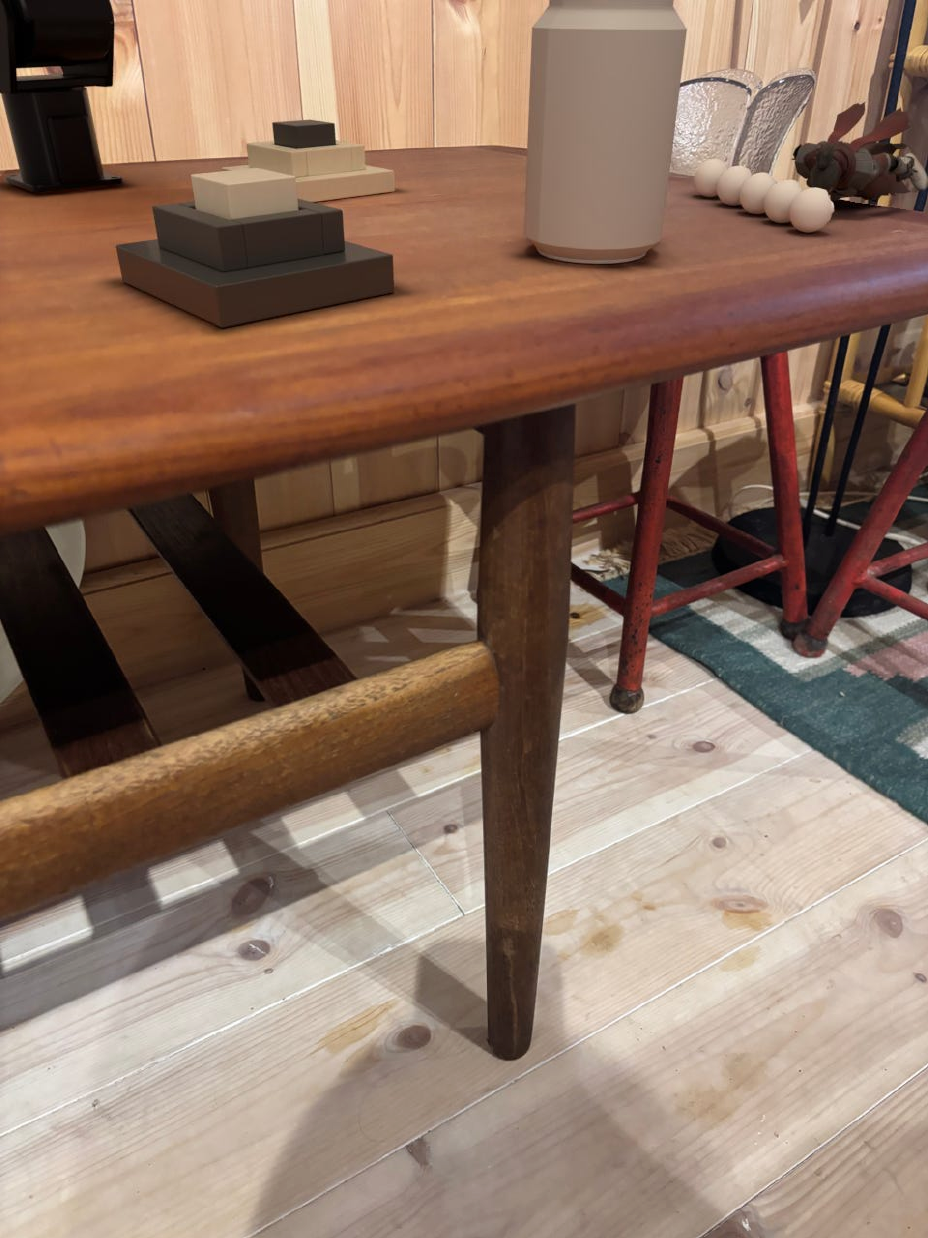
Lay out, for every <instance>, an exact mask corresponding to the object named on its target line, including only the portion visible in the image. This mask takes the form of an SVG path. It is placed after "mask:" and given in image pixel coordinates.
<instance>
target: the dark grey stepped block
mask: <svg viewBox="0 0 928 1238" xmlns="http://www.w3.org/2000/svg"><path fill="white" fill-rule="evenodd" d="M297 200H298V210H296V211H289V212H281V213H274V214H267V215H259V216H252V217H245V218H237V219H231V220H228V219H225V218H222V217H218V216H215V215H212V214H209V213H205V212H202V211H199V210H196V206H195V200H191V201H182V202H177V203H175V202H173V203H167V204H165V203H163V204H156V205H151V209H152V215H153V222H154V227H155V234H156V239H148V240H147V239H146V240H142V241H135V242H127V243H120V244H119V243H118V244H115V251H116V255H117V261H118V265H119V270H120V275H121V280H122V282H123V283H124V284H127V285H129V286H132V287H134V288H136V289H137V290H140V291H142V292H144V293H146V294H148V295H151V296H153V297H155V298H157V299H159V300H161V301H164V302H165V303H168V304H170V305H172V306H174V307H176V308H179V309H181V310H183V311H185V312H187V313H189V314H191V315H194V316H196V317H197V318H200V319H201V320H205V321H206V322H209V323H211V324H213V325H215V326H217V327H219V328H222V329H223V328H228V327H233V326H237V325H243V324H248V323H253V322H258V321H262V320H266V319H271V318H275V317H276V318H277V317H281V316H287V315H291V314H296V313H300V312H305V311H311V310H315V309H320V308H326V307H330V306H334V305H335V306H336V305H338V304H344V303H349V302H354V301H358V300H363V299H368V298H372V297H377V296H382V295H388V294H392V293H394V292H395V275H394V274H395V272H394V255H393V254H391V253H389V252H384V251H382V250H378V249H374V248H371V247H367V246H365V245H364V246H363V245H361V244H357V243H353V242H351V241H347V240H346V239H345V223H344V211H343V209H340V208H336V207H332V206H328V205H325V204H321V203H317V202H309V201H305V200H301V199H297Z"/></svg>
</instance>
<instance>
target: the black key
mask: <svg viewBox="0 0 928 1238" xmlns="http://www.w3.org/2000/svg"><path fill="white" fill-rule="evenodd" d="M271 125H272V134H273V135H272V136H273V141H274V145H278V146H283V147H289V148H294V149H300V148H311V147H322V146H332V145H336V138H337V137H336V124H335V122H329V121H322V120H316V119H299V120H298V119H297V120H287V121H286V120H283V121H273V122H272V123H271Z"/></svg>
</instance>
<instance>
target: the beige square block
mask: <svg viewBox="0 0 928 1238" xmlns="http://www.w3.org/2000/svg"><path fill="white" fill-rule="evenodd" d="M190 178H191V184H192V185H191V186H192V191H193V199H194V201H195V206H196V210H199V211H202V212H205V213H209V214H212V215H215V216H218V217H222V218H225V219H228V220H231V219H237V218H245V217H252V216H259V215H267V214H274V213H281V212H289V211H296V210H298V200H297V189H296V178H295V176H291V175H286V174H282V173H277V172H273V171H269V170H264V169H260V168H250V169H240V170H231V171H222V170H221V171H213V172H202V173H195V174H194V173H193V174H191V175H190Z"/></svg>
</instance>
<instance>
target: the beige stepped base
mask: <svg viewBox="0 0 928 1238" xmlns="http://www.w3.org/2000/svg"><path fill="white" fill-rule="evenodd" d="M365 147H366V146H365V144H361V143H355V142H348V141H342V140H338V139H337V140H336V145H332V146H322V147H311V148H300V149H294V148H289V147H283V146H278V145H274V140H270V141H269V140H267V141H257V142H255V141H254V142H247V143H246V152H247V153H246V154H247V162H248V164H244V165H243V164H242V165H234V166H233V165H231V166H223V167H221V169H220V170H221V171H231V170H240V169H250V168H260V169H264V170H269V171H273V172H277V173H282V174H286V175H291V176H295V178H296V189H297V199H301V200H305V201H309V202H313V203H317V202H318V203H319V202H325V201H332V200H340V199H347V198H348V199H349V198H355V197H364V196H369V195H379V194H385V193H393V192H396V191H395V190H396V189H395V170H393V169H388V168H383V167H378V166H372V165H369V164H368V165H367V164H366V149H365Z"/></svg>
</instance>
